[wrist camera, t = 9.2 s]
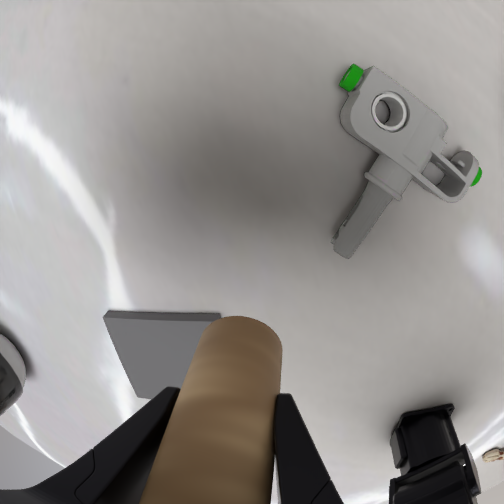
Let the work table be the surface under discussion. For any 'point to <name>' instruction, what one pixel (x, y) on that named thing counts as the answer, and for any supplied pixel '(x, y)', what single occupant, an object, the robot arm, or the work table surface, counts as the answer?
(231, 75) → the work table surface
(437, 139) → the mechanical component
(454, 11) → the work table surface
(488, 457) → the hand mirror
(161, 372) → the mat
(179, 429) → the dowel
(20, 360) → the pump dispenser
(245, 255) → the work table surface
